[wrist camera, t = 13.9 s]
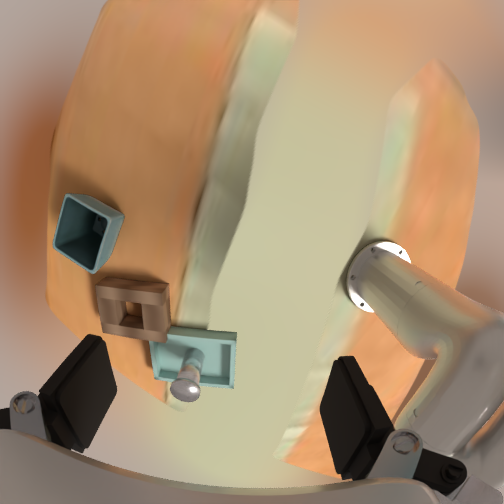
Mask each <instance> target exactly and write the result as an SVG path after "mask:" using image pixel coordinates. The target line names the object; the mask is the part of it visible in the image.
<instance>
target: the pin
mask: <svg viewBox="0 0 504 504" xmlns="http://www.w3.org/2000/svg"><path fill="white" fill-rule="evenodd" d="M204 359H205V355H204V353H203V352H202V351H201V350H200V349H197V348H190V349H188V350H187V351H186V352H185V355H184V358H183V361H182V364H181V367H180V370H179V373H178V376H177V379H175V380H174V381H173V382H172V384H171V387H170V391H171V393H172V395H173V396H174V397H175V398H177V399H179V400H181V401H184V402H193V401H196V400H197V399H198V398H199V396H200V387H199V386H198V385H199V381H200V376H201V372H202V367H203V363H204Z"/></svg>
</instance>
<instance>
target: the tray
mask: <svg viewBox="0 0 504 504" xmlns="http://www.w3.org/2000/svg"><path fill="white" fill-rule="evenodd" d="M167 337H168V339H167V342H166V343H161V342H154V341H149V345H150V352H151V359H152V366H153V372H154V378H155V379H156V380H162V381H168V382H173V381H174V380H175V379H177V376H178V373H179V370H180V367H181V364H182V361H183V358H184V355H185V352H186V351H187V350H188V349H190V348H197V349H200V350H201V351H202V352H203V353H204V355H205V359H204V363H203V367H202V372H201V376H200V381H199V386H208V387H219V388H234V375H235V356H236V338H237V332H226V331H213V330H202V329H192V328H183V327H174V326H171V328H170V330H169V332H168V334H167Z"/></svg>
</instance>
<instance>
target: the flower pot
mask: <svg viewBox="0 0 504 504" xmlns="http://www.w3.org/2000/svg"><path fill="white" fill-rule="evenodd" d="M99 218H101V220H99ZM124 218H125V216H124V214H123V213H121V212H119V211H117V210H115V209H113V208H112V207H110V206H108V205H106V204H104V203H102V202H101V201H99V200H97V199H95V198H94V197H91V196H89V195H84V194H71V193H66V194H65V197H64V200H63V203H62V207H61V211H60V215H59V219H58V223H57V227H56V231H55V235H54V239H53V248H54V249H55V250H56V251H58V252H59V253H61V254H62V255H64V256H65V257H67V258H68V259H70V260H71V261H73V262H74V263H76V264H77V265H79V266H80V267H82V268H84V269H85V270H86V271H88V272H90V273H92V274H95V273H96V272H97V271H98V270H99V269H100V268H101V267H102V266H103V265H104V264H105V263H106V262H107V260H108V259H109V258H110V256H111V254H112V252H113V249H114V246H115V243H116V240H117V237H118V234H119V231H120V229H121V226H122V223H123V221H124ZM104 230H105V233H104V232H103V231H104Z"/></svg>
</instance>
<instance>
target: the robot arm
mask: <svg viewBox="0 0 504 504" xmlns="http://www.w3.org/2000/svg"><path fill="white" fill-rule="evenodd" d="M371 248H372V250H371ZM352 275H353V276H352ZM351 276H352V277H351ZM346 285H347V291H348V294H349V297H350V298H351V300H352V301H353V302H354V304H355V305H356V306H357V307H359V308H360V309H362V310H364V311H368V312H374V313H375V314H376V315H377V316H378V317H379V318H380V320H381V321H382V322H383V323H384V324H385V325H386V327H387V328H388V329H389V330H390V331H391V333H392V334H393V335H394V336H395V337H396V338H397V340H398V341H399V342H400V343H401V345H403V347H404V348H405V349H406V350H407V351H408V352H409V353H410V354H412V355H413V356H415V357H418V358H422V359H436V362H435V364H434V365H433V367H432V369H431V370H430V372H429V374H428V376H427V377H426V379H425V380H424V382H423V383H422V384H421V386H420V387H419V389H418V390H417V391H416V393H415V394H414V395H413V397H412V398H411V399H410V401H409V402H408V404H407V405H406V406H405V407H404V409H403V410H402V411H401V413H400V414H399V416H398V418H397V420H396V422H395V425H394V426H393V424H392V422H391V420H390V418H389V416H388V415H387V413H386V411H385V409H384V407H383V405H382V403H381V401H380V399H379V397H378V395H377V394H376V392H375V390H374V388H373V387H372V386H371V385H369V383H368V382H367V380H366V378H365V376H364V374H363V372H362V370H361V368H360V367H359V365H358V363H357V361H356V359H355V358H354V356H340V357H339V358H338V360H335V361H334V362H333V366H332V369H331V373H330V376H329V379H328V382H327V386H326V389H325V392H324V395H323V398H322V401H321V404H320V414H321V418H322V421H323V425H324V429H325V432H326V436H327V440H328V443H329V447H330V451H331V454H332V458H333V462H334V466H335V469H336V473H337V474H341V477H342V480H346V479H351V478H352V480H353V481H349V482H341V483H334V484H326V485H318V486H306V487H292V488H265V489H264V488H232V487H218V486H208V485H199V484H191V483H184V482H178V481H173V480H168V479H163V478H157V477H153V476H149V475H144V474H141V473H137V472H133V471H129V470H126V469H122V468H119V467H115V466H112V465H109V464H106V463H103V462H100V461H97V460H94V459H92V458H89V457H86V456H84V455H81V454H78V453H76V452H73V451H71V449H73V450H75V451H78V452H80V453H83V451H84V449H85V448H88V447H89V446H90V444H91V442H92V440H93V438H94V436H95V434H96V432H97V430H98V428H99V426H100V424H101V422H102V420H103V418H104V416H105V414H106V413H107V411H108V409H109V407H110V405H111V403H112V401H113V399H114V397H115V396H116V393H117V386H116V382H115V379H114V375H113V371H112V367H111V363H110V359H109V355H108V351H107V346H106V343H105V341H104V340H103V339H102V338H101V337H100V336H96V335H92V334H88V335H87V336H86V337H85V338H84V339H83V340H82V341H81V342H80V343H79V345H78V346H77V347H76V348H75V349H74V350H73V351H72V353H70V355H69V356H68V357H67V358H66V359H65V360H64V361H63V363H62V364H61V365H60V366H59V367H58V369H57V370H56V371H55V372H54V373H53V374H52V376H51V377H50V378H49V379H48V380H47V382H46V383H45V384H44V385H43V386H42V388H41V389H40V390H39V392H40V394H39V395H38V396H37V395H36V394H34V393H33V392H29V391H23V392H20V393H18V394H16V395H15V396H14V397H13V398H12V399H11V401H10V407H9V408H4V409H0V504H502V503H503V496H502V494H501V492H499V491H498V490H497V489H499V488H501V487H503V486H504V313H502V312H499V311H497V310H494V309H492V308H489V307H487V306H484V305H482V304H480V303H478V302H476V301H474V300H472V299H470V298H468V297H466V296H464V295H463V294H461V293H459V292H458V291H456V290H454V289H453V288H451V287H450V286H448V285H446V284H445V283H443V282H441V281H440V280H438V279H437V278H435V277H433V276H432V275H430V274H428V273H427V272H425V271H423V270H422V269H420V268H418V267H417V266H415V265H413V264H412V263H411V262H410V258H409V256H408V254H407V253H406V251H405V250H404V249H403V248H402V247H401V246H399V245H397V244H395V243H393V242H390V241H377V242H374V243H371V244H370V245H368V246H366V247H365V248H363V249H362V250H361V251H360V252H359V253H358V254H357V255H356V256H355V258H354V259H353V261H352V263H351V265H350V267H349V270H348V274H347V281H346ZM502 402H503V403H502ZM501 403H502V404H501ZM499 406H500V407H499ZM498 407H499V408H498ZM495 411H496V412H495ZM491 416H492V417H491ZM486 421H488V422H487V423H486ZM485 423H486V424H485ZM484 424H485V425H484ZM483 425H484V426H483ZM482 426H483V427H482Z"/></svg>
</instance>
